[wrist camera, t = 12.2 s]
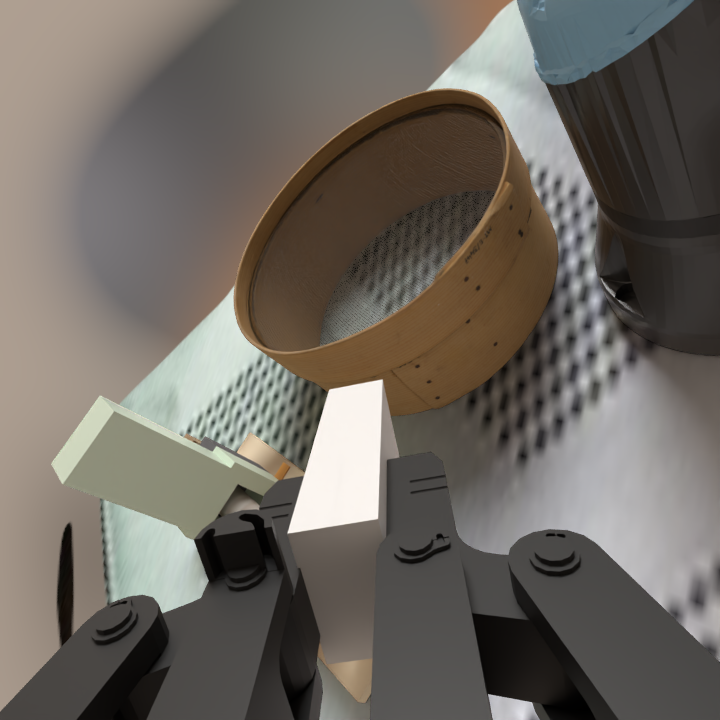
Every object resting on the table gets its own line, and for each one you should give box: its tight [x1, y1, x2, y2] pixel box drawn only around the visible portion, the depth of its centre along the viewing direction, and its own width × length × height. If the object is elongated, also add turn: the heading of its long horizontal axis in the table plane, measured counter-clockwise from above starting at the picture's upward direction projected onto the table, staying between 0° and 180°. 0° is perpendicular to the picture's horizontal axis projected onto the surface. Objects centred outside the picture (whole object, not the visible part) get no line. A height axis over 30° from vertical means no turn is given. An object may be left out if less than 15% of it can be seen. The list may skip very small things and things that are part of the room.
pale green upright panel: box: [52, 396, 278, 540], centre depth 38 cm, size 3×6×16 cm, turn 141°
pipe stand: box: [184, 433, 372, 703], centre depth 41 cm, size 24×9×7 cm, turn 51°
